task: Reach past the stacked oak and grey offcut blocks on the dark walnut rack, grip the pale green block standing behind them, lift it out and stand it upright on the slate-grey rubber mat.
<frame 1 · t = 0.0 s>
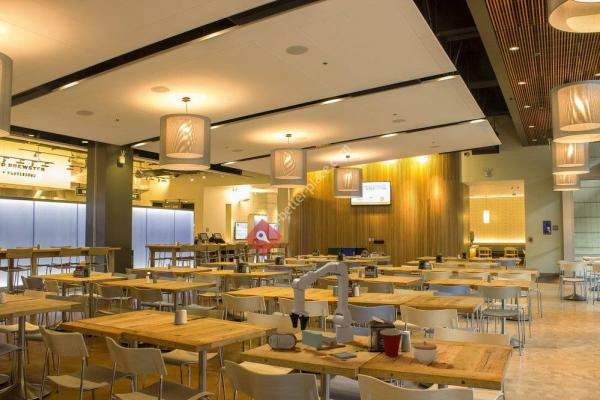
hand: (299, 329, 262), 10 cm above the table, tool pointing down, fingers open, 7 cm apart
pale green block: (311, 347, 266), on the table
mat: (338, 354, 250), on the table
offcut top: (327, 339, 271), point 3 cm above the table, touching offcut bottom
plastic cup: (391, 356, 247), on the table
rack: (319, 346, 268), on the table
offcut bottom: (326, 343, 271), point 1 cm above the table, touching offcut top, rack
lidded jar: (424, 362, 236), on the table
tin: (282, 349, 262), on the table
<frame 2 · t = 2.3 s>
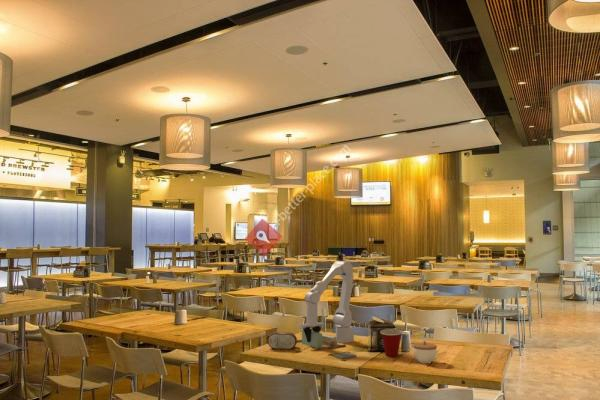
hand: (311, 341, 266), 3 cm above the table, tool pointing down, fingers closed on pale green block, 3 cm apart
pale green block: (311, 347, 266), on the table, touching gripper
everything else where it was.
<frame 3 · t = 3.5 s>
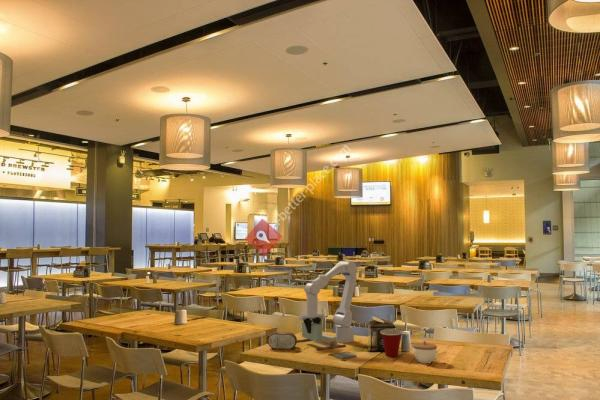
hand: (311, 332, 266), 7 cm above the table, tool pointing down, fingers closed on pale green block, 3 cm apart
pale green block: (311, 338, 266), point 4 cm above the table, touching gripper
everything else where it was.
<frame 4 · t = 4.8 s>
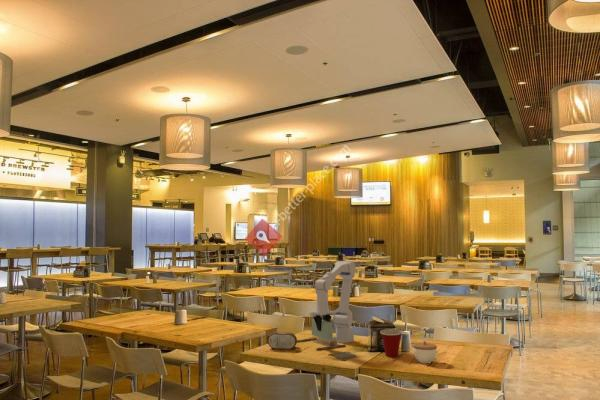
hand: (322, 330, 260), 10 cm above the table, tool pointing down, fingers closed on pale green block, 3 cm apart
pale green block: (322, 336, 260), point 7 cm above the table, touching gripper
everything else where it was.
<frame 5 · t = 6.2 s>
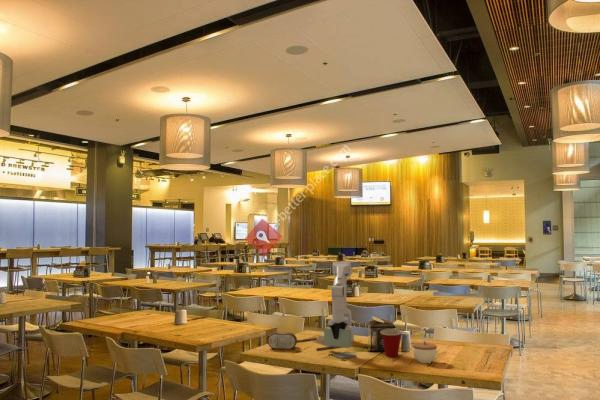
hand: (338, 338, 251), 8 cm above the table, tool pointing down, fingers closed on pale green block, 3 cm apart
pale green block: (337, 345, 251), point 4 cm above the table, touching gripper
everything else where it was.
when the fingers open (5 cm above the table, at t = 7.4 s): pale green block stays where it is, resting on mat.
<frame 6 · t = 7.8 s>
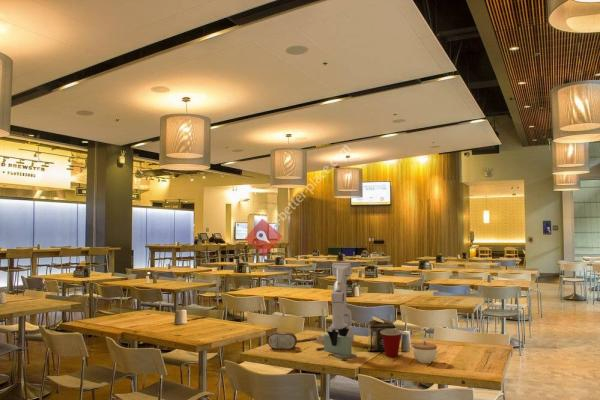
hand: (338, 344, 250), 5 cm above the table, tool pointing down, fingers open, 6 cm apart
pale green block: (337, 352, 250), point 1 cm above the table, touching mat
everything else where it was.
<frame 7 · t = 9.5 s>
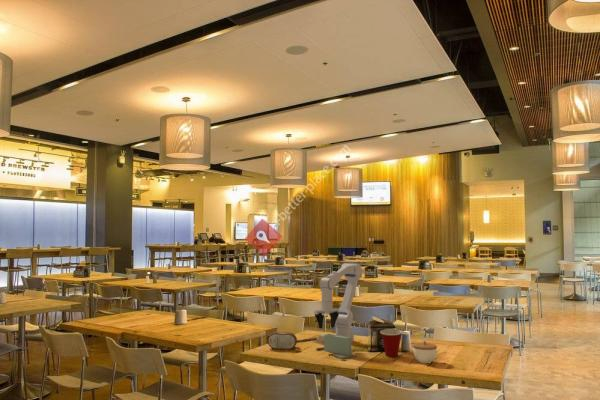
hand: (326, 327, 265), 10 cm above the table, tool pointing down, fingers open, 7 cm apart
nothing on the table moved.
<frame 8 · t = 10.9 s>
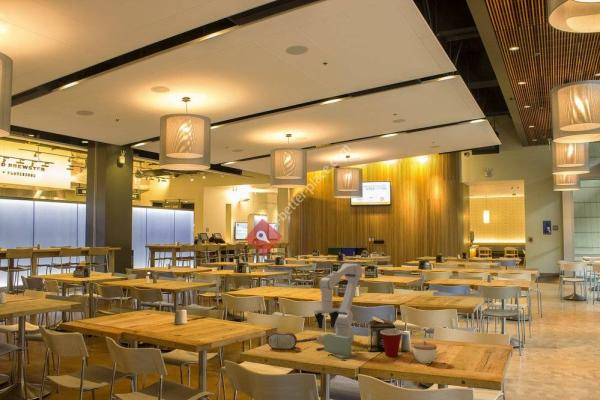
hand: (326, 327, 265), 10 cm above the table, tool pointing down, fingers open, 7 cm apart
nothing on the table moved.
at the end: pale green block 0.3 cm off-centre on the mat, point 0.8 cm above the mat's base; pale green block tilted 0°; offcut top moved 0.0 cm from its start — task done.
